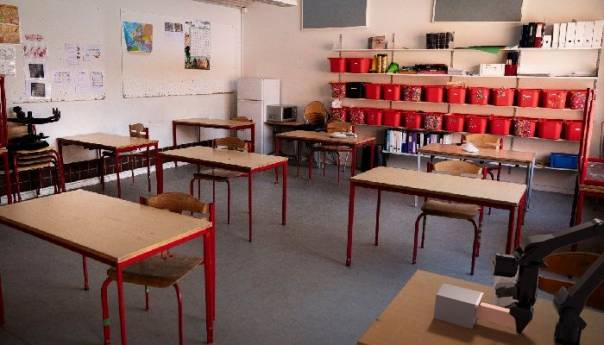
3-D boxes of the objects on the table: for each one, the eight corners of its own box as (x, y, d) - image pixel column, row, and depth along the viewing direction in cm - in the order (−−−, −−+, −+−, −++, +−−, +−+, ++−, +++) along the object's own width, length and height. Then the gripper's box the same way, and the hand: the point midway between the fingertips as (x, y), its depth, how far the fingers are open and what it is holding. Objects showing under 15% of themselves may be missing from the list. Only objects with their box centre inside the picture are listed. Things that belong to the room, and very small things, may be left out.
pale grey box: (480, 316, 163) (483, 292, 161) (474, 329, 154) (478, 305, 152) (441, 305, 169) (443, 283, 167) (433, 318, 160) (436, 294, 158)
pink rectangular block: (527, 328, 153) (529, 314, 152) (526, 331, 150) (528, 317, 149) (473, 314, 160) (475, 300, 159) (471, 317, 158) (473, 303, 157)
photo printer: (507, 297, 177) (511, 264, 174) (518, 302, 173) (523, 269, 171) (488, 304, 171) (493, 270, 169) (499, 309, 168) (504, 275, 165)
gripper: (503, 262, 161) (496, 307, 164) (494, 283, 145) (487, 332, 148) (541, 270, 155) (533, 316, 159) (536, 293, 139) (528, 344, 143)
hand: (520, 326), depth 152 cm, fingers open, 9 cm apart
